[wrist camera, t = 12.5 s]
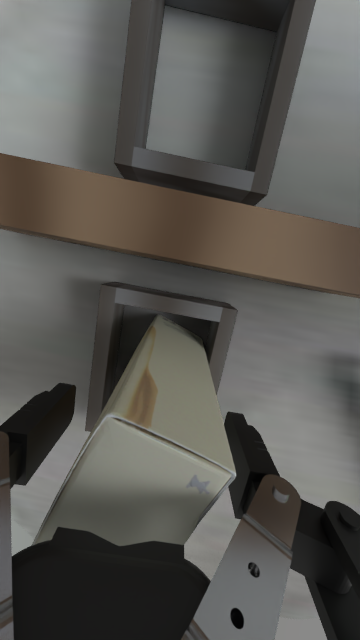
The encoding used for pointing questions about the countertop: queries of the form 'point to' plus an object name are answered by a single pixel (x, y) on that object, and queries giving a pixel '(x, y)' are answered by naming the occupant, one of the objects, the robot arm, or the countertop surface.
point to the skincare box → (150, 449)
